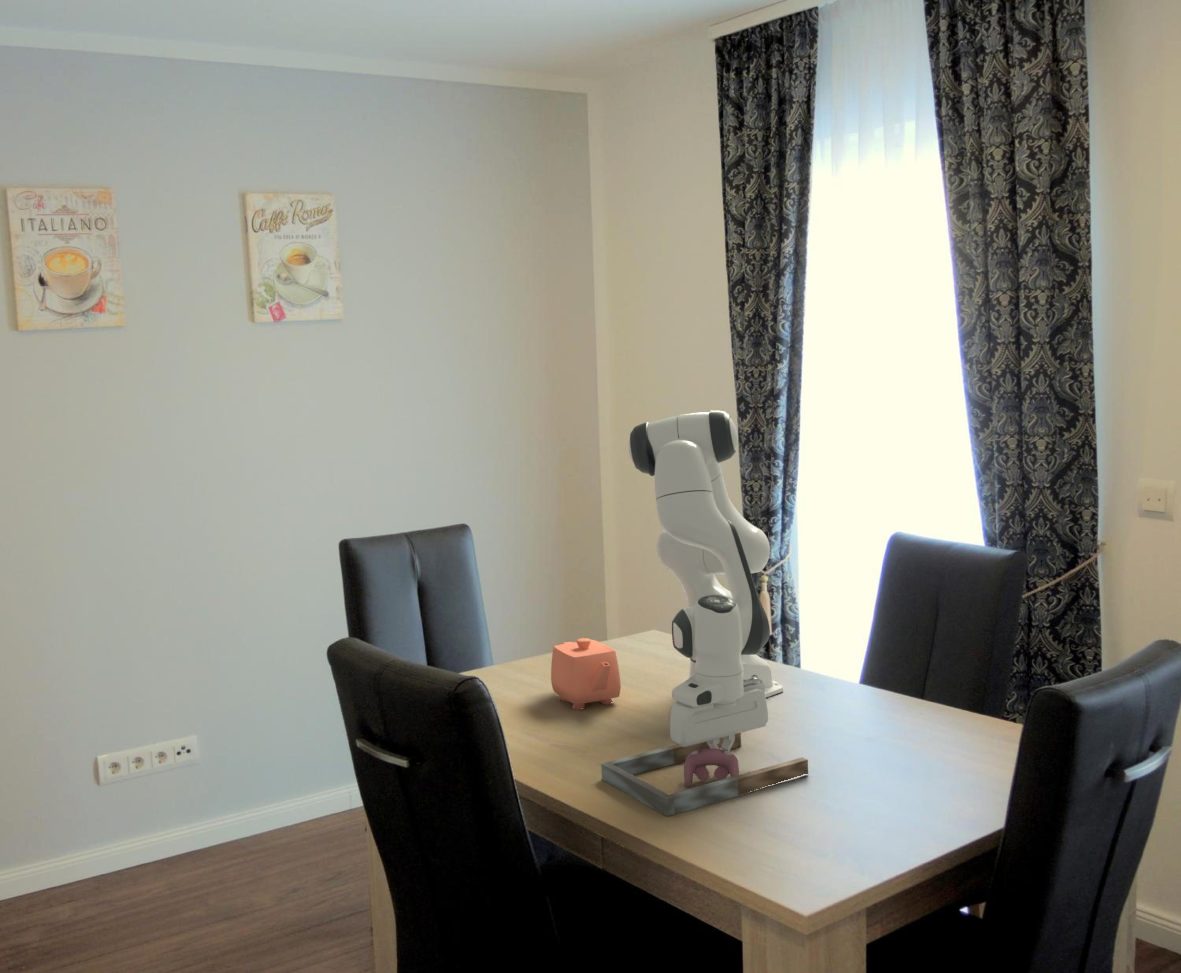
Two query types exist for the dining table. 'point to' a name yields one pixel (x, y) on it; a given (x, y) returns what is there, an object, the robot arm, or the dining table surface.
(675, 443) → the robot arm
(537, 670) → the dining table surface
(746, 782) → the u-shaped rail frame
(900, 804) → the dining table surface
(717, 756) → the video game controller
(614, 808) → the dining table surface
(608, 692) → the teapot
